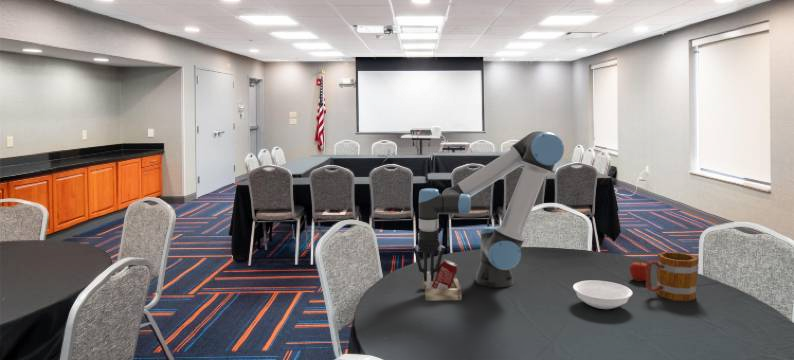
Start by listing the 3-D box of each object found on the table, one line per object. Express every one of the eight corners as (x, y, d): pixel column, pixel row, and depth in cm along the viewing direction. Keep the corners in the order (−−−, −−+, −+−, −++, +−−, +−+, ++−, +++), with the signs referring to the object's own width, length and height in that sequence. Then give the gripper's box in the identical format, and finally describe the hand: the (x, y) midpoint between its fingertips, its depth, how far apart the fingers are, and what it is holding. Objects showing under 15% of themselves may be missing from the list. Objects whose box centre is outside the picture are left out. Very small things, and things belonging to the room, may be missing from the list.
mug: (678, 287, 201) (680, 250, 199) (704, 299, 188) (707, 260, 186) (633, 291, 197) (635, 253, 196) (657, 303, 184) (659, 263, 182)
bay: (456, 287, 204) (456, 277, 204) (461, 299, 190) (461, 289, 190) (423, 288, 204) (422, 278, 204) (425, 300, 190) (425, 290, 190)
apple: (651, 284, 206) (652, 265, 205) (630, 282, 208) (631, 263, 207) (648, 278, 213) (649, 260, 212) (628, 276, 215) (629, 258, 214)
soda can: (446, 296, 193) (458, 268, 192) (430, 289, 194) (442, 260, 193) (447, 292, 200) (459, 264, 199) (431, 285, 200) (443, 257, 199)
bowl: (634, 320, 170) (635, 301, 170) (571, 312, 177) (572, 295, 176) (629, 299, 189) (630, 283, 188) (572, 294, 196) (573, 277, 195)
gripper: (444, 226, 198) (444, 285, 201) (411, 227, 198) (411, 286, 200) (446, 231, 190) (446, 292, 193) (412, 231, 190) (412, 292, 193)
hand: (428, 289), depth 197 cm, fingers closed
